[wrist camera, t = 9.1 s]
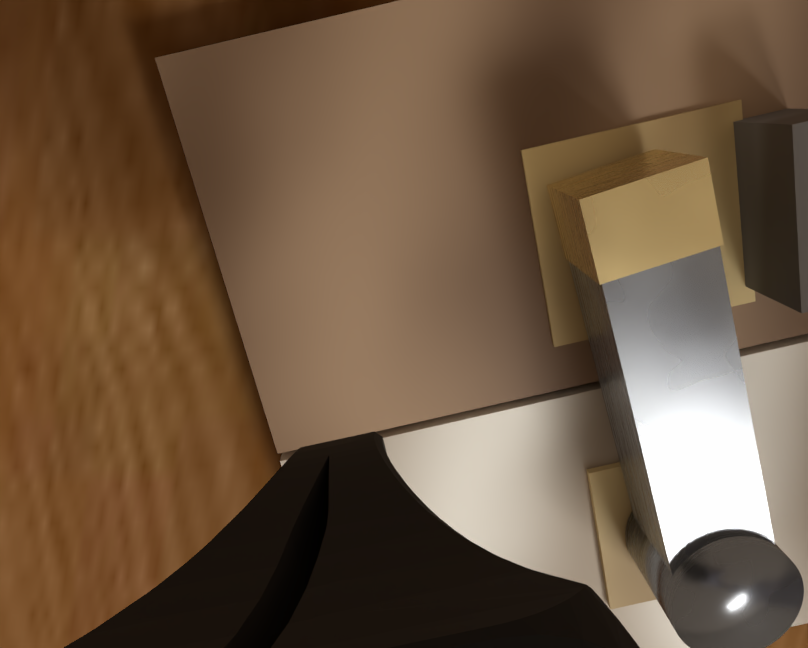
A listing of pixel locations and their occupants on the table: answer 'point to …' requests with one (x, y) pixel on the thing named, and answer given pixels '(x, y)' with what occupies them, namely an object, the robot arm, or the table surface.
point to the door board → (498, 245)
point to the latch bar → (677, 396)
